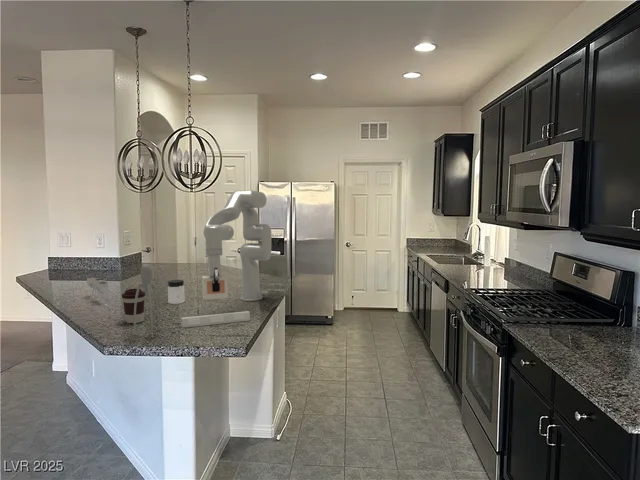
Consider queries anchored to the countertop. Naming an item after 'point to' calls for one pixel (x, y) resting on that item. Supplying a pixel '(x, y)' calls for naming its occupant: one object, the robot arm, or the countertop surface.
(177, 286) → the jar
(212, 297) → the box
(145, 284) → the juicer
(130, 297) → the coffee cup
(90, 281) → the goblet set
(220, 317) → the rail
